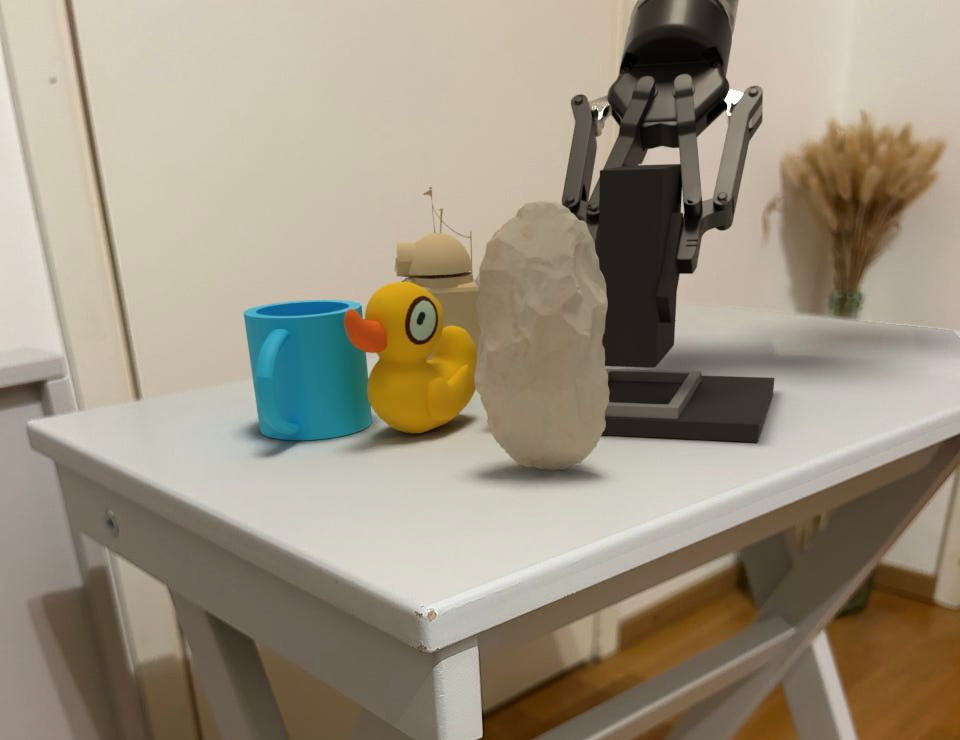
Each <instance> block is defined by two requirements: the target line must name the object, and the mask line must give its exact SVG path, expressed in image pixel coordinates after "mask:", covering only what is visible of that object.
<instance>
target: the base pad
mask: <svg viewBox="0 0 960 740" xmlns="http://www.w3.org/2000/svg"><path fill="white" fill-rule="evenodd" d="M605 369H606V371H607V374H608V387H609V392H610V394H609V403H608V405H607V408H606V410H605V422H606V427H605V430H604V431H603V432H602V435H601V436H617V437H618V436H620V437H638V438H659V439H661V438H662V439H678V440H679V439H682V440H699V441H701V440H702V441H721V442H722V441H724V442H741V443H742V442H743V443H758V442H759V438H760V434H761V433H762V429H763V426H764V423H765V420H766V417H767V414H768V410H769V407H770V404H771V402H772V401H771V400H772V398H773V394H774V388H775V377H764V376H731V375H730V376H728V375H727V376H726V375H702V371H701V370H678V369H677V370H671V369H641V368H639V369H638V368H635V369H634V368H605Z"/></svg>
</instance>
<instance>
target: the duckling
mask: <svg viewBox="0 0 960 740" xmlns="http://www.w3.org/2000/svg"><path fill="white" fill-rule="evenodd" d="M344 326H345V329H346V333H347V335H348V338H349V340H350V342H351V343H352V344H353V345H354V346H355V347H356V348H358V349H360V350H362V351H365V352H366V353H368V354H376V355H377V356H378V360H377V362H375V364H374V365H373V367H372V369H371V371H370V373H369V375H368V385H367V394H368V399H369V402H370V405H371V410H373V412H374V413H375V414H376V416H378V417H379V418H380V419H381V420H382V421H383V422H384V423H385V424H386V425H388V426H389V427H390V428H392V429H394V430H396V431H399V432H403V433H406V434H423V433H425V432H429V431H431V430H433V429H436V428H439V427H442V426H444V425H446V424H447V423H449V422H450V421H453V420H454V419H455V418H456V417H457V416H458V415H459V414H460V413H461V412H462V411H463V410H464V409H465V408H466V407H467V406H468V404H469V403H470V402H471V400H472V398H473V396H474V394H475V391H476V388H475V382H474V375H475V370H476V364H477V355H476V347H475V344H474V342H473V340H472V338H471V337H470V335H469V334H468V332H467V331H466V330H465V329H463V328H461V327H458V326H447V327H445V328H443V309H442V306H441V304H440V302H439V301H438V300H437V299H435V298H434V297H433V296H432V294H430V293H429V292H428V291H427V290H425V289H424V288H422V287H421V286H419V285H416V284H414V283H411V282H402V281H399V282H396V281H395V282H389V283H388V284H384V285H382V286H381V287H379V288H378V289H377V290H376V291H374V293H373V294H372V295H371V297H370V298H369V300H368V301H367V304H366V307H365V312H364V317H363V318H361V317H360V315H359V314H358V312H357V311H356V310H355V309H349V310H348V311H347V312H346V314H345V318H344ZM433 350H434V352H433ZM432 352H433V356H432V359H431V360H427V361H426V359H427V357H428V356H429V355H430V354H431V353H432Z"/></svg>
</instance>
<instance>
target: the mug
mask: <svg viewBox="0 0 960 740" xmlns="http://www.w3.org/2000/svg"><path fill="white" fill-rule="evenodd" d="M349 309H355V310H356V311H357V312H358V314H359V315H360V317H361V318H363V319H364V316H363V315H364V314H363V305H362V304H361V303H360V302H356V301H353V300H342V299H309V300H295V301H284V302H276V303H275V302H274V303H270V304H269V303H268V304H263V305H257V306H254V307H250V308H248V309H246V310H244V311H243V319H244V326H245V332H246V333H245V334H246V340H247V347H248V355H249V362H250V368H251V376H252V383H253V390H254V396H255V404H256V405H255V406H256V411H257V419H258V425H259V426H258V427H259V432H260V434H262V435H263V436H265V437H268V438H272V439H276V440H286V441H316V440H327V439H333V438H338V437H345V436H348V435H352V434H355V433H359V432H361V431H364V430H365V429H367V428H369V427H370V425H371V424H372V423H373V415H372V407H371V405H370V402H369V399H368V394H367V385H368V379H369V371H368V370H369V369H368V360H367V352H365V351H362V350H360V349H358V348H356V347H355V346H354V345H353V344H352V343H351V342H350V340H349V338H348V335H347V333H346V329H345V326H344V318H345V314H346V312H347V311H348V310H349Z"/></svg>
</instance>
